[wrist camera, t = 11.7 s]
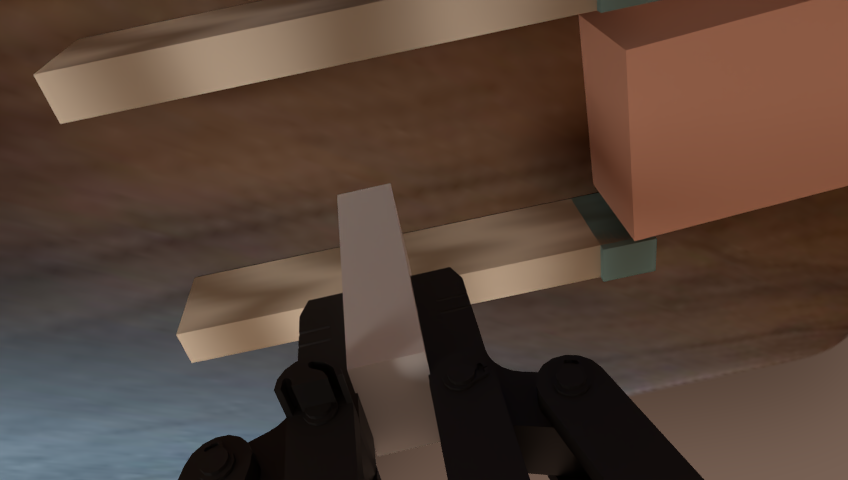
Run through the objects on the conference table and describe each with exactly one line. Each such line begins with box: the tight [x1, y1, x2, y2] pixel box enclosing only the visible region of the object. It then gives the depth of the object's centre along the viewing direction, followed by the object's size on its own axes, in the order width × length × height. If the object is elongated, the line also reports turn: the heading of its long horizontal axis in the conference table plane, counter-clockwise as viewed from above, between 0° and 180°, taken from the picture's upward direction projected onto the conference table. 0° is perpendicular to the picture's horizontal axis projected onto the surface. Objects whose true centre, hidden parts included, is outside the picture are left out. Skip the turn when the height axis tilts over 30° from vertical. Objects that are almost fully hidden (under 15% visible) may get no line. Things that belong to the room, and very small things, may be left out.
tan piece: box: [33, 0, 660, 363], centre depth 22 cm, size 18×12×4 cm, turn 100°
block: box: [578, 0, 848, 241], centre depth 22 cm, size 10×7×4 cm
